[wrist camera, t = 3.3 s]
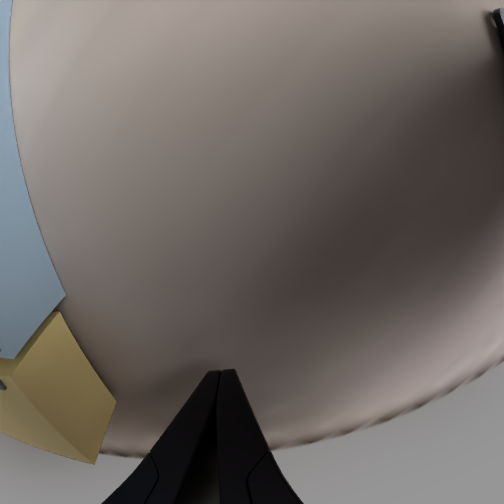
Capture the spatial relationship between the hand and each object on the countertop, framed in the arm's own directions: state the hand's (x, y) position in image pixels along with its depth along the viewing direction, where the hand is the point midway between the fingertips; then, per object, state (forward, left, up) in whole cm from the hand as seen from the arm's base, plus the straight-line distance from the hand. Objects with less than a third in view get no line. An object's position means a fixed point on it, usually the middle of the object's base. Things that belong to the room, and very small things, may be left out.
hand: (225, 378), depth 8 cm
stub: (+10, 0, -1) cm, 10 cm away
